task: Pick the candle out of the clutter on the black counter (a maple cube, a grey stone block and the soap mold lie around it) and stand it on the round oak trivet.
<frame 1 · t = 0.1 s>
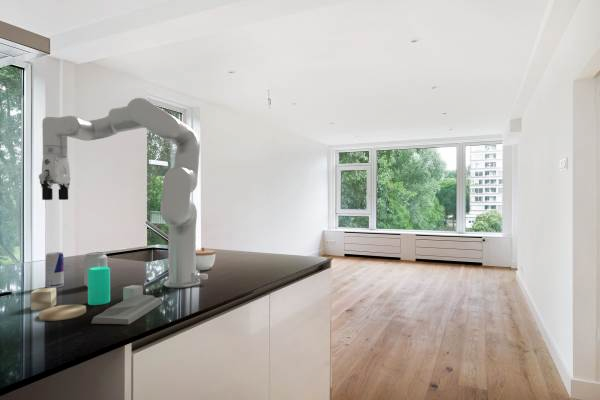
hand: (55, 199, 139), 31 cm above the worktop, tool pointing down, fingers open, 9 cm apart
candle: (99, 302, 118), on the worktop
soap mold: (130, 314, 107), on the worktop
grey stone block: (133, 299, 121), on the worktop
energy drink: (54, 287, 139), on the worktop
trivet: (63, 314, 106), on the worktop
can: (96, 286, 140), on the worktop
maple cube: (43, 307, 113), on the worktop
lidded jar: (203, 269, 172), on the worktop
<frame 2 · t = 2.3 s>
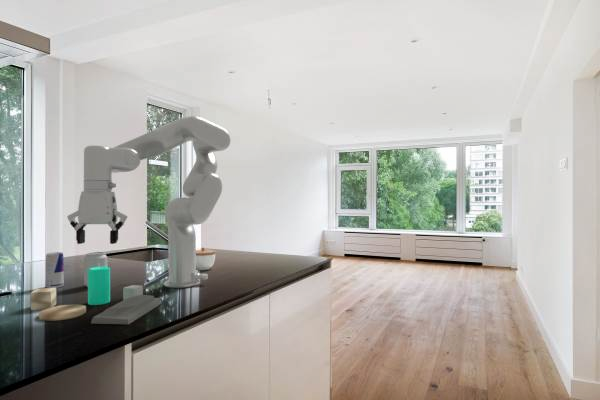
hand: (97, 243, 117), 18 cm above the worktop, tool pointing down, fingers open, 9 cm apart
nothing on the worktop moved.
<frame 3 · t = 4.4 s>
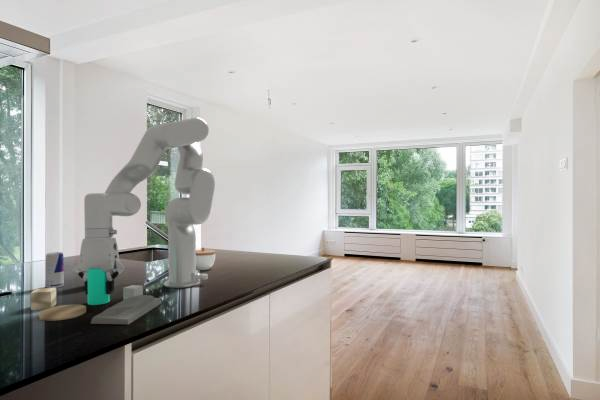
hand: (99, 292, 118), 3 cm above the worktop, tool pointing down, fingers closed on candle, 5 cm apart
candle: (98, 302, 118), on the worktop, touching gripper
everything else where it was.
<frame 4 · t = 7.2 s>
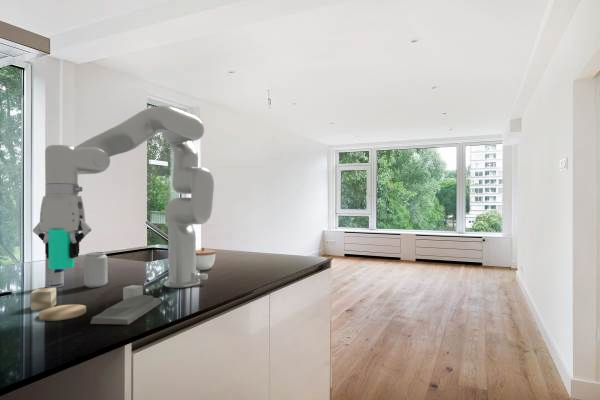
hand: (62, 256, 105), 16 cm above the worktop, tool pointing down, fingers closed on candle, 5 cm apart
candle: (61, 268, 105), point 13 cm above the worktop, touching gripper
everything else where it was.
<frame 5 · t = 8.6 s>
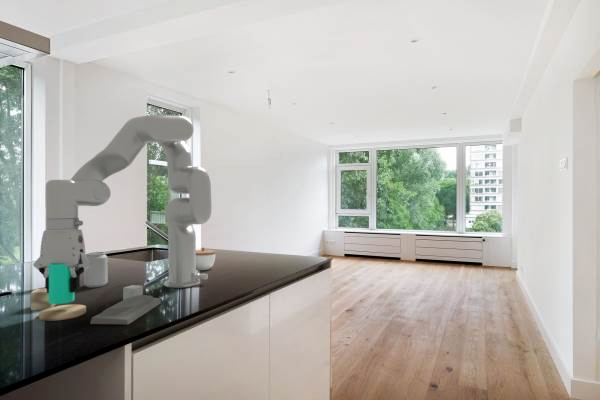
hand: (62, 290, 106), 6 cm above the worktop, tool pointing down, fingers closed on candle, 5 cm apart
candle: (61, 302, 105), point 3 cm above the worktop, touching gripper
everything else where it was.
when the fingers open (5 cm above the worktop, at t = 9.8 s): candle stays where it is, resting on trivet.
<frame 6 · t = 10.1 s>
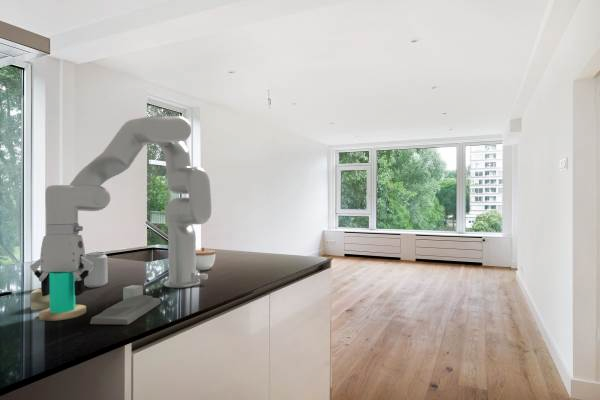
hand: (63, 294, 106), 5 cm above the worktop, tool pointing down, fingers open, 8 cm apart
candle: (62, 310, 106), point 1 cm above the worktop, touching trivet
everything else where it was.
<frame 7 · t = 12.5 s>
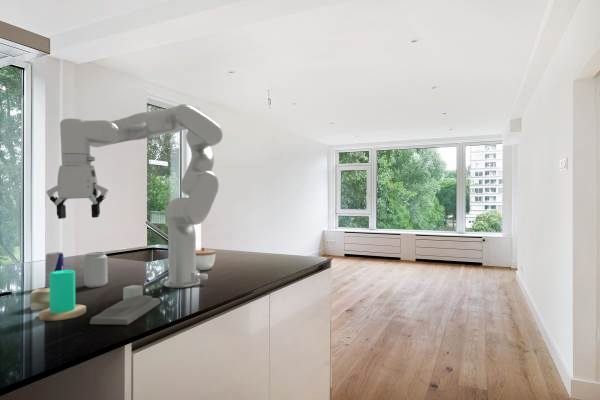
hand: (78, 217, 117), 26 cm above the worktop, tool pointing down, fingers open, 9 cm apart
nothing on the worktop moved.
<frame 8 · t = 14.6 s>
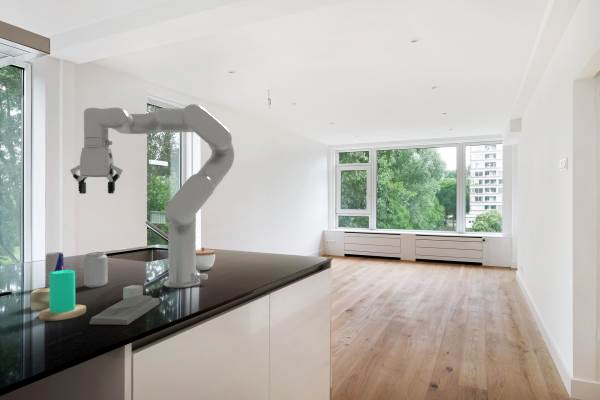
hand: (96, 193, 135), 33 cm above the worktop, tool pointing down, fingers open, 9 cm apart
nothing on the worktop moved.
at the end: candle inside the target area on the trivet (0.2 cm from its centre), point 1.0 cm above the trivet's base; candle tilted 0°; the gripper is holding nothing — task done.
